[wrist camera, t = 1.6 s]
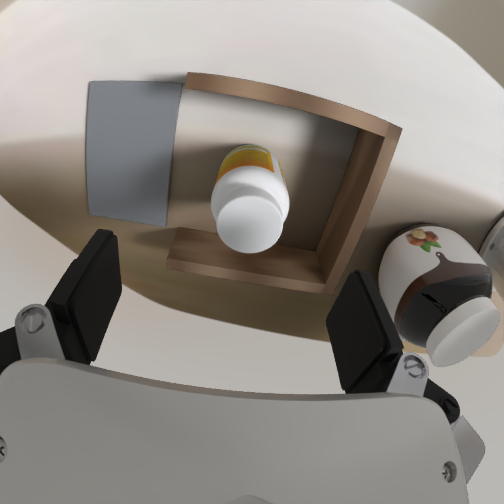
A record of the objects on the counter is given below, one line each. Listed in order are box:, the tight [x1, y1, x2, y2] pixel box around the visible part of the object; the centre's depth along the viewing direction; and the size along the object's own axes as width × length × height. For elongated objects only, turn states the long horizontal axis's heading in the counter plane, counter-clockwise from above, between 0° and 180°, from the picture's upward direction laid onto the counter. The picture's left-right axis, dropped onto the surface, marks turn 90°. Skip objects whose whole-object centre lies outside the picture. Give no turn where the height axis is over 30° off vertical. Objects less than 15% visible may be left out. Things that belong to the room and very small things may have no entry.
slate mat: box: [86, 81, 183, 227], centre depth 20 cm, size 8×12×1 cm, turn 168°
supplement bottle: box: [211, 145, 289, 253], centre depth 18 cm, size 5×5×8 cm
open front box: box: [167, 72, 403, 295], centre depth 20 cm, size 13×14×4 cm
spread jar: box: [379, 224, 500, 367], centre depth 22 cm, size 12×11×12 cm
